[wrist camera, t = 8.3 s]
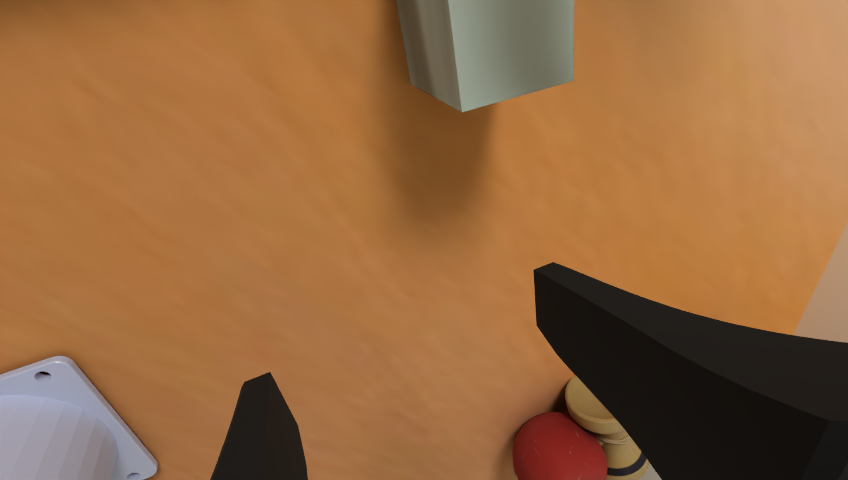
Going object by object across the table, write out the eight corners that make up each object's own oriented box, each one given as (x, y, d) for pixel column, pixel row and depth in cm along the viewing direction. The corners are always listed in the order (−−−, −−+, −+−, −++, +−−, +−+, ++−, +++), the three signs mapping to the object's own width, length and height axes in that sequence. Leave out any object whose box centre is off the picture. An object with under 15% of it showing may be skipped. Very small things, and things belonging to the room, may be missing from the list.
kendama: (687, 280, 33) (489, 424, 29) (777, 338, 29) (560, 519, 24) (669, 338, 38) (499, 467, 34) (742, 395, 34) (559, 552, 30)
